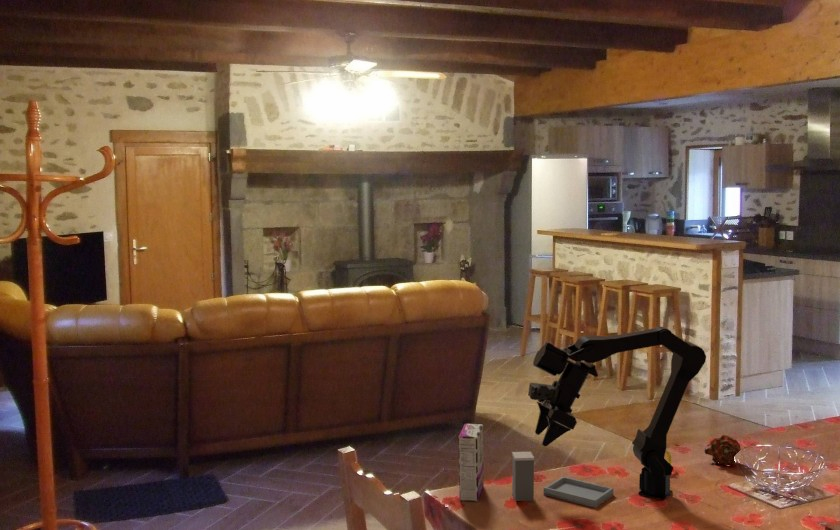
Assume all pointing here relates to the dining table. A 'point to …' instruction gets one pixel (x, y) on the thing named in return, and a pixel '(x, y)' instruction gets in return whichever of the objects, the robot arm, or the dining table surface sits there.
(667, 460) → the watch
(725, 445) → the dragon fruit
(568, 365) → the robot arm
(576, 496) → the tray
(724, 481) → the dining table surface
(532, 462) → the grey tall block
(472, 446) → the candy bar box
